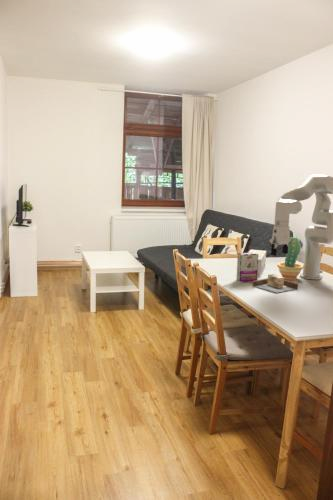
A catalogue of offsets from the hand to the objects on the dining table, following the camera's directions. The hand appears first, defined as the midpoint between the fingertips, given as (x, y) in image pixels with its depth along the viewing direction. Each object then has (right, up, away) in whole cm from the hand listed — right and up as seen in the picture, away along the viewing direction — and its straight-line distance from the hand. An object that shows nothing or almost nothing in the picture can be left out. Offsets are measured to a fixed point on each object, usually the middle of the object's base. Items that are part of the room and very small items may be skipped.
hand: (279, 254), depth 241 cm
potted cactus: (+12, -15, +24) cm, 30 cm away
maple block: (-1, -17, +4) cm, 18 cm away
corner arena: (-2, -18, 0) cm, 19 cm away
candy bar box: (-16, -16, +13) cm, 26 cm away
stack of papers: (-5, -11, +42) cm, 44 cm away
